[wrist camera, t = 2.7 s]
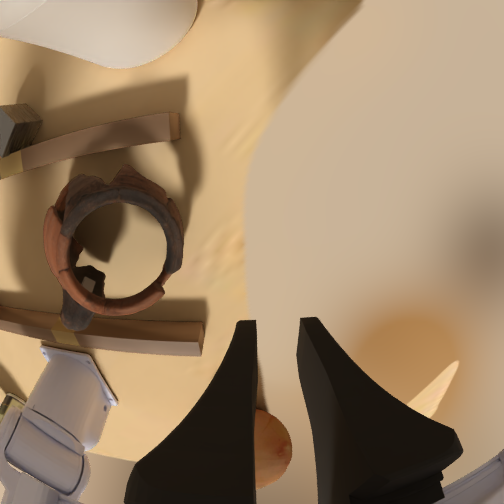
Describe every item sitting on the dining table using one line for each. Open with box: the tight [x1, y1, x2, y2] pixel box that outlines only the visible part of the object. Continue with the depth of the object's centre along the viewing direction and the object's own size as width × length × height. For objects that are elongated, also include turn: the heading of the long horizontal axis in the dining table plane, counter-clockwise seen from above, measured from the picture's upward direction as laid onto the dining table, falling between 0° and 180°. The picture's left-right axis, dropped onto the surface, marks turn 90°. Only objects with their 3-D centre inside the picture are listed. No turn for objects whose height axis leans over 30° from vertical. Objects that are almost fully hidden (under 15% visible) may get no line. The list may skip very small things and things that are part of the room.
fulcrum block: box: [0, 104, 42, 158], centre depth 13 cm, size 3×3×3 cm
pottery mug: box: [43, 164, 184, 331], centre depth 16 cm, size 12×10×8 cm
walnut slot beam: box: [0, 112, 205, 356], centre depth 17 cm, size 17×28×2 cm, turn 91°
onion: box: [254, 409, 292, 490], centre depth 24 cm, size 10×10×10 cm
